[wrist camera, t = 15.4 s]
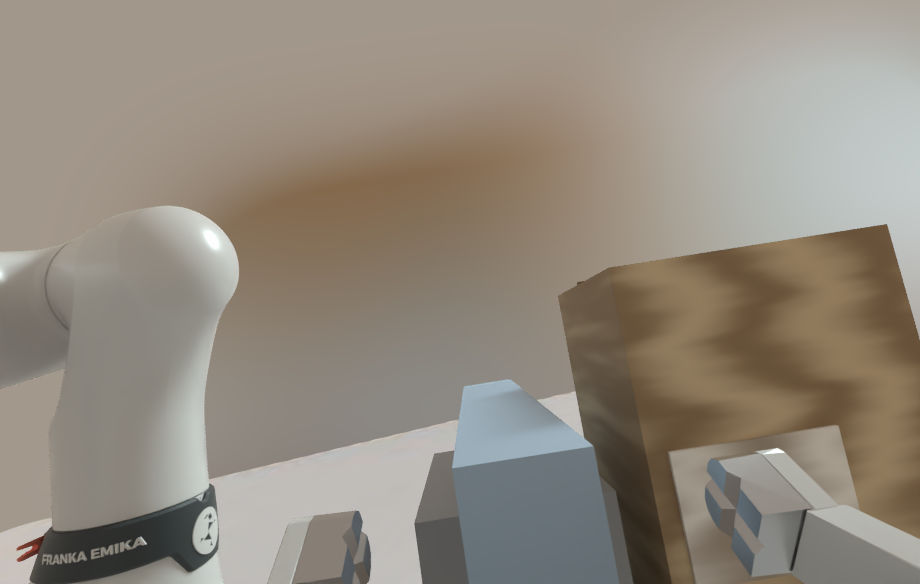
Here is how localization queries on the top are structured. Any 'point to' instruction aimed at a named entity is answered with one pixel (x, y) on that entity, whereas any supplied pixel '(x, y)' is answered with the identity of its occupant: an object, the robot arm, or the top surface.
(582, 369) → the carton
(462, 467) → the light blue bar
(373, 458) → the top surface
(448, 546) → the grey rectangular block
